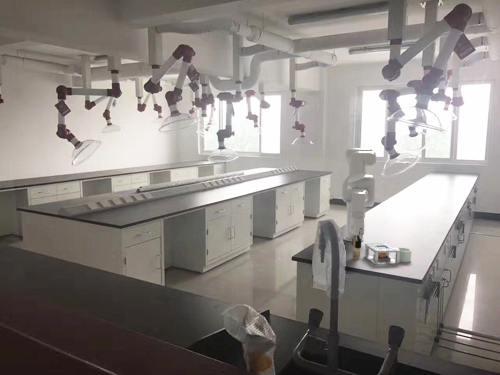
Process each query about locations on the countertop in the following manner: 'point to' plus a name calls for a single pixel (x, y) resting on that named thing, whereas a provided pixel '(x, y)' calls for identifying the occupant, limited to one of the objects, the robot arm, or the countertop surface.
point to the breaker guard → (376, 250)
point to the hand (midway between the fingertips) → (356, 246)
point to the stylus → (355, 250)
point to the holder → (405, 255)
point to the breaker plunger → (382, 255)
